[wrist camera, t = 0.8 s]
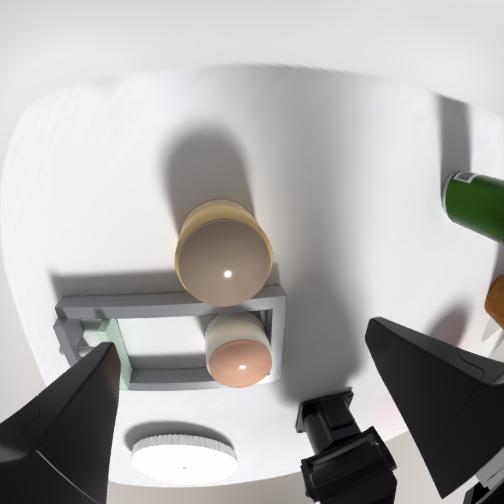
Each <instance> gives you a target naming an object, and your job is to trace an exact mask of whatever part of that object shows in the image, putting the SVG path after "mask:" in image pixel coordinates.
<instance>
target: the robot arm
mask: <svg viewBox="0 0 504 504" xmlns="http://www.w3.org/2000/svg"><path fill="white" fill-rule="evenodd" d="M365 342H366V344H367V347H368V349H369V351H370V353H371V356H372V358H373V361H374V363H375V365H376V368H377V370H378V372H379V374H380V376H381V378H382V380H383V382H384V384H385V385H386V387H387V389H388V391H389V393H390V395H391V396H392V398H393V400H394V402H395V404H396V406H397V408H398V410H399V412H400V413H401V415H402V417H403V419H404V421H405V423H406V425H407V427H408V429H409V431H410V433H411V435H412V437H413V439H414V441H415V443H416V445H417V447H418V449H419V451H420V453H421V455H422V457H423V459H424V462H425V464H426V466H427V468H428V470H429V472H430V475H431V477H432V479H433V481H434V483H435V486H436V488H437V490H438V492H439V495H440V497H441V498H442V499H444V498H445V497H446V496H448V495H449V494H451V493H452V492H454V491H455V490H456V489H458V488H459V487H460V486H461V485H463V484H464V483H466V482H467V481H468V480H469V479H471V478H472V477H473V476H474V475H476V477H477V478H478V480H479V482H478V483H477V484H476V485H474V486H473V487H472V488H471V489H469V490H468V491H467V492H466V494H465V498H464V502H463V504H504V363H503V362H499V361H495V360H493V359H489V358H486V357H483V356H480V355H477V354H474V353H471V352H468V351H465V350H463V349H460V348H458V347H455V346H452V345H450V344H447V343H445V342H442V341H440V340H437V339H435V338H432V337H430V336H427V335H425V334H422V333H420V332H417V331H415V330H412V329H410V328H407V327H405V326H402V325H400V324H397V323H395V322H392V321H390V320H387V319H385V318H382V317H375V318H371V319H370V320H369V323H368V327H367V331H366V334H365ZM120 374H121V360H120V357H119V354H118V352H117V349H116V346H115V344H114V343H113V342H101V343H100V344H99V345H98V346H96V347H95V348H94V349H93V350H91V351H90V352H89V353H88V354H86V355H85V356H84V357H83V358H82V359H80V360H79V361H78V362H77V363H75V364H74V365H73V366H72V367H71V368H69V369H68V370H67V371H66V372H65V373H63V374H62V375H61V376H60V377H58V378H57V379H56V380H55V381H54V382H52V383H51V384H50V385H49V386H48V387H47V388H45V389H44V390H43V391H42V392H41V393H39V395H38V396H36V397H35V398H33V399H32V400H31V401H30V402H29V403H27V404H26V405H25V406H24V407H23V408H21V409H20V410H19V411H17V412H16V413H14V414H13V415H12V416H10V417H9V418H8V419H6V420H5V421H3V422H2V423H0V504H106V498H107V485H108V474H109V464H110V455H111V447H112V440H113V433H114V427H115V420H116V414H117V409H118V401H119V386H120ZM353 395H354V394H353V392H352V391H348V392H344V393H341V394H337V395H333V396H329V397H325V398H320V399H316V400H311V401H306V402H304V403H302V404H301V408H300V413H299V418H298V423H297V427H296V431H297V433H303V432H306V433H307V436H308V438H309V441H310V443H311V446H312V448H313V451H314V454H315V455H314V456H312V457H309V458H307V459H306V458H305V459H302V460H301V463H302V465H301V466H300V467H301V470H302V473H303V477H304V485H305V494H306V496H307V497H310V498H311V499H312V500H313V501H314V502H315V504H394V499H395V492H396V486H397V480H396V478H395V476H394V474H393V472H392V471H393V470H395V469H397V466H396V463H395V461H394V459H393V457H392V455H391V454H390V452H389V450H388V448H387V447H386V445H385V444H384V442H383V440H382V439H381V437H380V436H379V434H378V433H377V431H376V430H375V428H374V427H373V426H371V427H369V429H367V430H365V431H364V432H362V433H361V431H360V429H359V427H358V425H357V423H356V422H355V419H354V417H353V415H352V414H351V412H350V410H349V406H350V403H351V401H352V398H353Z"/></svg>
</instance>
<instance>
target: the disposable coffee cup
mask: <svg viewBox="0 0 504 504" xmlns="http://www.w3.org/2000/svg"><path fill="white" fill-rule="evenodd" d="M485 310H486V312H487V313H488V314H489V315H490V316H491V317H492V318H493V319H494V320H495V321H496V322H497V323H498V324H499V325H500V326H501V328H502V329H503V330H504V275H501V276H500V277H499V278H497V280H496V281H495V282H494V284H493V285H492V287H491V289H490V291H489V293H488V296H487V299H486V303H485Z"/></svg>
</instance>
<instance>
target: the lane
mask: <svg viewBox="0 0 504 504" xmlns="http://www.w3.org/2000/svg"><path fill="white" fill-rule="evenodd" d="M286 299H287V295H286V294H285V292H284V290H283V288H282V287H281V285H270V286H263V287H262V288H261V290H260V291H259V292H258V293H257V294H256V295H254V296H253V297H252V298H250V299H249V300H247V301H245V302H243V303H240V304H237V305H233V306H224V307H221V306H213V305H209V304H206V303H204V302H202V301H200V300H198V299H197V298H195V297H194V296H193V295H192V294H190V293H189V292H173V293H154V294H132V295H104V296H63V297H62V298H61V300H60V301H59V302H58V304H57V305H56V306H55V310H56V313H57V316H58V320H57V321H56V323H55V324H54V326H53V328H54V331H55V333H56V336H57V338H58V341H59V343H60V345H61V348H62V350H63V352H64V354H65V356H66V359H67V361H68V363H69V365H70V367H72V366H73V365H74V364H75V363H77V362H78V361H79V360H80V359H82V358H83V357H81V356H79V355H78V353H77V351H76V348H77V346H78V344H79V342H80V340H81V338H82V336H83V334H84V330H83V327H82V324H81V321H80V319H118V318H155V317H177V316H195V315H210V314H223V313H236V312H247V311H258V310H267V333H266V335H267V338H268V341H269V344H270V347H271V349H272V352H273V358H274V359H273V364H272V368H271V370H270V372H269V374H268V375H267V376H266V377H265V378H264V379H263V380H261V381H260V382H258V383H256V384H262V383H270V382H276V381H280V378H281V367H282V355H283V342H284V329H285V315H286ZM254 385H255V384H254ZM215 388H227V386H224V385H222V384H220V383H218V382H217V381H215V380H214V379H213V377H212V376H211V375H210V373H209V371H208V369H207V368H192V369H167V370H132V373H131V377H130V382H129V387H128V390H134V391H176V390H200V389H215ZM119 390H120V388H119Z"/></svg>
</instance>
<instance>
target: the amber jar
mask: <svg viewBox="0 0 504 504" xmlns="http://www.w3.org/2000/svg"><path fill="white" fill-rule="evenodd" d="M272 261H273V255H272V248H271V245H270V242H269V240H268V238H267V236H266V235H265V233H264V232H263V230H262V229H261V228H260V226H259V225H258V223H257V222H256V221H255V219H254V218H253V217H252V215H251V214H250V213H249V212H248V211H247V210H246V209H245V208H244V207H243V206H241V205H239V204H237V203H235V202H232V201H229V200H212V201H208V202H205V203H203V204H201V205H199V206H197V207H196V208H195V209H193V210H192V211H191V212H190V214H189V215H188V216H187V218H186V219H185V221H184V223H183V226H182V229H181V233H180V237H179V241H178V245H177V249H176V253H175V268H176V272H177V275H178V278H179V280H180V282H181V283H182V285H183V286H184V288H185V289H186V290H187V291H188V292H189V293H190V294H192V295H193V296H194V297H195V298H197V299H198V300H200V301H202V302H204V303H206V304H209V305H213V306H221V307H224V306H233V305H237V304H240V303H243V302H245V301H247V300H249V299H250V298H252V297H253V296H254V295H256V294H257V293H258V292H259V291H260V290H261V288H262V287H263V286H264V284H265V282H266V280H267V278H268V276H269V274H270V271H271V268H272Z"/></svg>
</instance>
